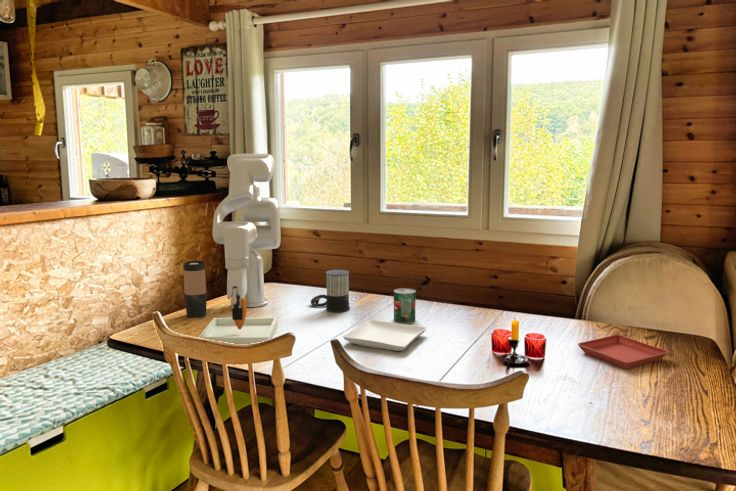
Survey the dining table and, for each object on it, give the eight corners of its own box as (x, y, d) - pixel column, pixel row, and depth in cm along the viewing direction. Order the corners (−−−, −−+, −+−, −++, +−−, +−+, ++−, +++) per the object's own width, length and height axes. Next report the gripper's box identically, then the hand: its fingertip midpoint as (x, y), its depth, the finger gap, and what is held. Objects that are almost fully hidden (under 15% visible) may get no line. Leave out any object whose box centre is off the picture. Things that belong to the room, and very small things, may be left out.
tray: (214, 326, 200) (214, 317, 199) (277, 325, 200) (277, 317, 200) (197, 347, 178) (197, 337, 178) (268, 346, 179) (268, 337, 178)
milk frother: (349, 312, 216) (348, 274, 214) (307, 312, 217) (306, 274, 214) (351, 303, 231) (350, 267, 228) (312, 302, 231) (311, 266, 229)
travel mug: (210, 312, 217) (207, 260, 214) (202, 318, 209) (199, 264, 206) (190, 312, 218) (188, 260, 214) (182, 317, 210) (179, 264, 207)
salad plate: (427, 336, 190) (427, 326, 189) (404, 356, 171) (404, 345, 170) (369, 328, 199) (369, 318, 198) (341, 346, 179) (341, 336, 179)
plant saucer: (626, 373, 158) (627, 362, 157) (575, 353, 173) (576, 342, 173) (669, 362, 166) (670, 351, 165) (616, 344, 182) (617, 334, 181)
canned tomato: (419, 321, 205) (420, 291, 204) (402, 324, 201) (402, 294, 199) (406, 316, 212) (406, 287, 210) (389, 319, 208) (389, 290, 206)
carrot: (233, 327, 191) (231, 283, 189) (248, 327, 192) (246, 283, 189) (231, 332, 186) (229, 287, 184) (246, 331, 187) (244, 286, 185)
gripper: (231, 258, 194) (233, 310, 197) (219, 268, 177) (222, 325, 180) (253, 258, 194) (255, 309, 197) (243, 268, 177) (246, 324, 180)
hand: (239, 316), depth 188 cm, fingers closed on carrot, 4 cm apart
